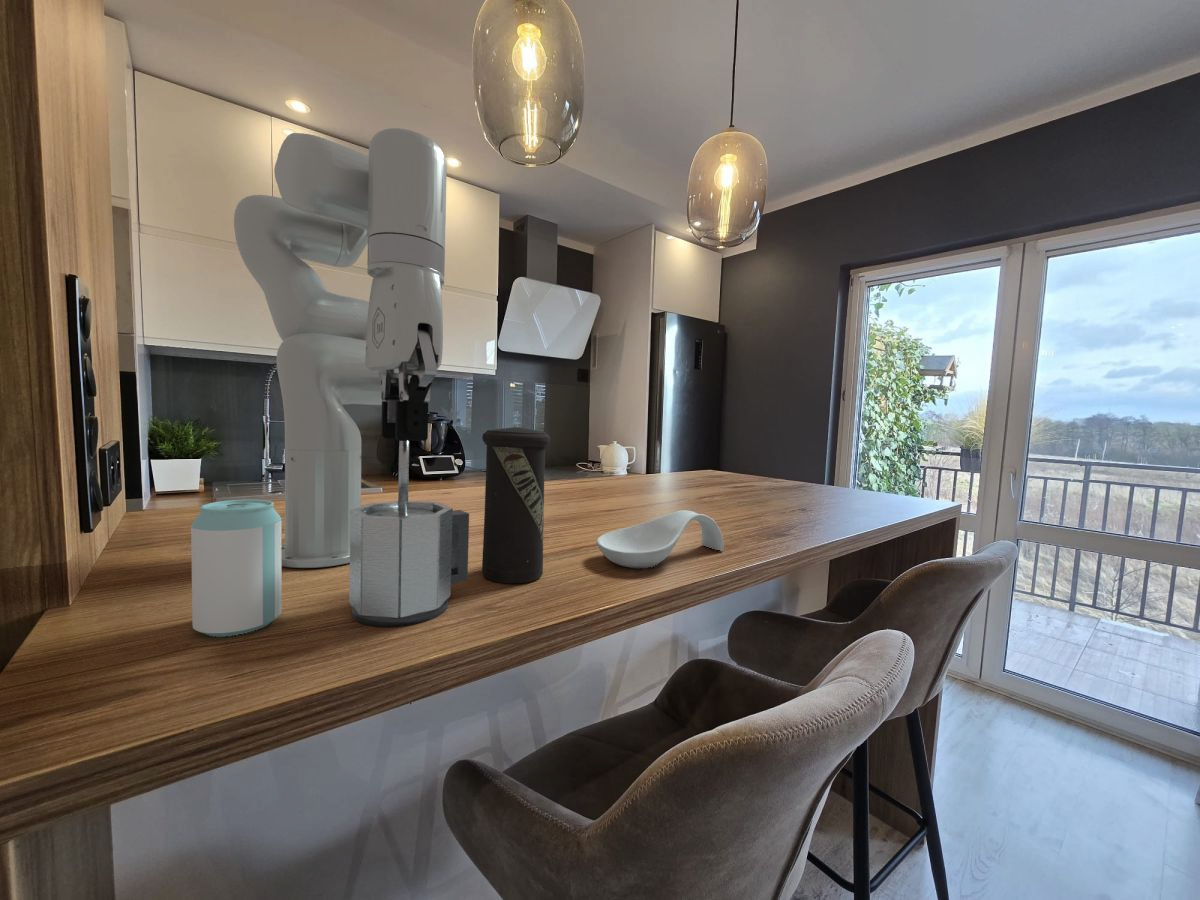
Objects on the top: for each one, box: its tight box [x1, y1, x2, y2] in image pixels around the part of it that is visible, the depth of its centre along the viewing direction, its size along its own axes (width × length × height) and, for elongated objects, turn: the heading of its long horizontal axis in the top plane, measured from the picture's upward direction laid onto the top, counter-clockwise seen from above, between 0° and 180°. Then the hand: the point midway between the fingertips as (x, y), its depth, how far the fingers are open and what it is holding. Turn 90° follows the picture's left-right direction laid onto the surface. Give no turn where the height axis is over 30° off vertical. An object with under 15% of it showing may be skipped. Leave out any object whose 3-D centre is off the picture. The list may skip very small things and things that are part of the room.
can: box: [190, 499, 282, 638], centre depth 48 cm, size 7×7×12 cm
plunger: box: [369, 400, 434, 517], centre depth 53 cm, size 7×7×13 cm
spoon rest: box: [596, 509, 725, 569], centre depth 78 cm, size 24×12×7 cm, turn 126°
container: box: [481, 427, 551, 584], centre depth 66 cm, size 9×9×20 cm
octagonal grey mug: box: [348, 500, 470, 628], centre depth 55 cm, size 10×12×11 cm
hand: (404, 437), depth 53 cm, fingers closed on plunger, 3 cm apart
